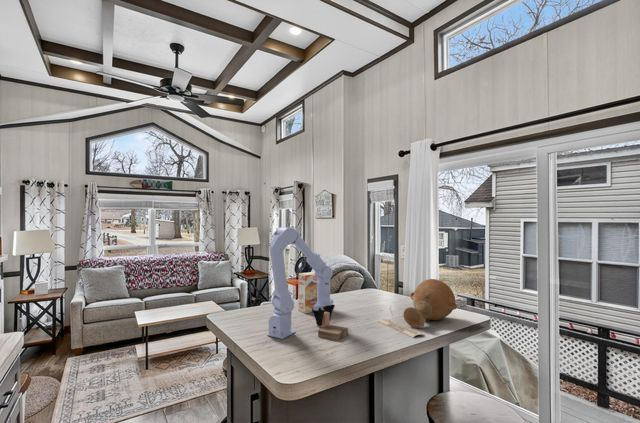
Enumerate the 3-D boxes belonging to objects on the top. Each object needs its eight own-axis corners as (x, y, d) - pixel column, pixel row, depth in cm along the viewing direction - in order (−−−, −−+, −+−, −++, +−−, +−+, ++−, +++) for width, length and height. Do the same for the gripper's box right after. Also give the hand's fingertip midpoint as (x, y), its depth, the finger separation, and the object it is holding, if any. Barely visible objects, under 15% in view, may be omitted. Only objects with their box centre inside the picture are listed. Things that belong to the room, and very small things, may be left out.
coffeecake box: (304, 313, 165) (305, 274, 166) (297, 310, 171) (297, 273, 171) (328, 309, 174) (328, 272, 174) (320, 306, 179) (320, 270, 180)
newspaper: (424, 337, 134) (424, 333, 134) (411, 340, 131) (411, 335, 131) (388, 321, 155) (388, 317, 155) (376, 323, 152) (376, 319, 152)
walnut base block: (338, 341, 127) (338, 334, 128) (318, 337, 132) (318, 330, 132) (347, 335, 135) (347, 327, 135) (328, 331, 140) (328, 324, 140)
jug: (468, 295, 156) (445, 316, 133) (446, 321, 164) (421, 345, 142) (434, 267, 166) (408, 282, 143) (415, 293, 174) (387, 311, 152)
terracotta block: (325, 328, 142) (325, 314, 142) (317, 326, 144) (317, 313, 144) (329, 326, 146) (329, 312, 146) (321, 324, 148) (321, 311, 148)
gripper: (323, 296, 137) (323, 329, 137) (339, 290, 150) (338, 320, 149) (309, 294, 141) (309, 326, 140) (325, 288, 153) (325, 317, 153)
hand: (323, 323), depth 145 cm, fingers open, 7 cm apart
